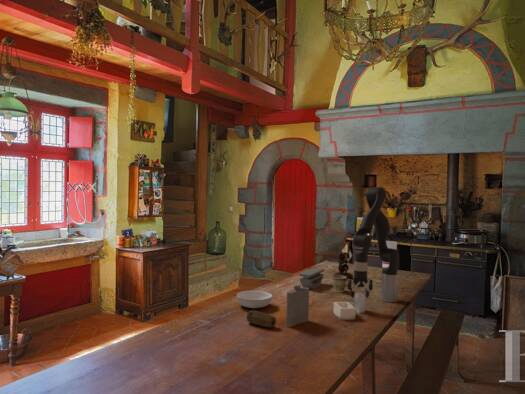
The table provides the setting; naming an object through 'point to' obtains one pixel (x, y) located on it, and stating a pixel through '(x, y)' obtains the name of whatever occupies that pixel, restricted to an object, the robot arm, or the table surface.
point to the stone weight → (261, 319)
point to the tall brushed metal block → (359, 302)
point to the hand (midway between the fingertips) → (359, 297)
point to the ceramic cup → (339, 283)
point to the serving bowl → (254, 299)
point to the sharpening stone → (311, 278)
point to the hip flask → (297, 306)
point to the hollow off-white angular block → (344, 310)
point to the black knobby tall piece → (343, 267)
